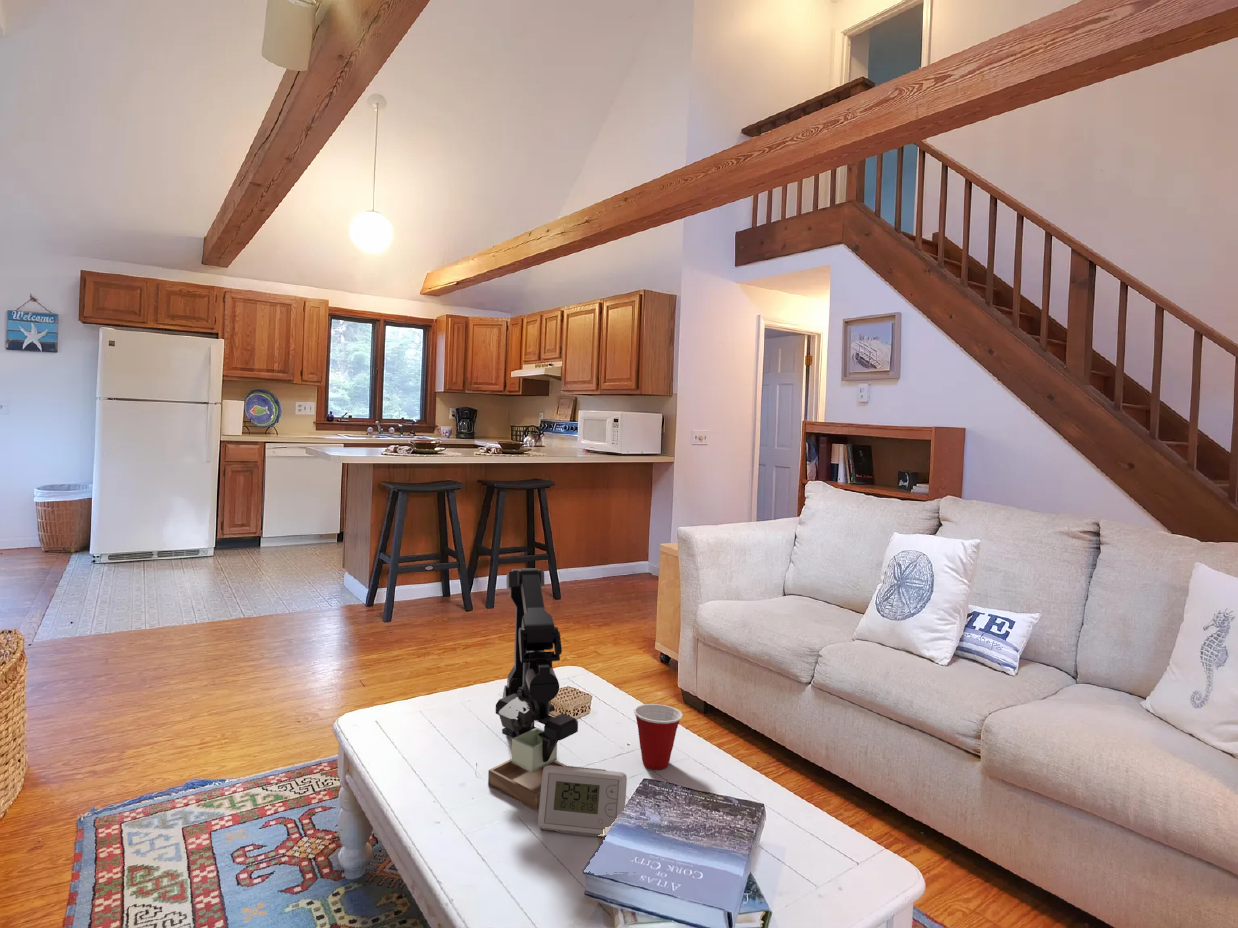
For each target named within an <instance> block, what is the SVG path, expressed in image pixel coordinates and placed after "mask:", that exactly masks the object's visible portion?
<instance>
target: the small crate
mask: <svg viewBox="0 0 1238 928" xmlns="http://www.w3.org/2000/svg"><path fill="white" fill-rule="evenodd" d="M541 732H544V729H541V728H539V727H537V728H535V729H532V730H530V731H528V732H526V733H524V734H521V735H519V736H517V737H512V739H511V759H512V761H511V762H512V763H514V764H516V765H518V766H520V767H522V768H524V769H526V770H528V771H530V772H532V773H533V772H534V771H536V770H538V769H540V768H542V767H544V766H546V765H548V764H550V763H552V762H554V761H558V760H557V758H558V757H557V756H558V755H557V754H558V743H557V744H556V746H555V748H554V750H553V752H552V754H551V756H550V758H549V760H548V761H547V762H543V753H542V738H541V737H540V736H539V735H538V734H539V733H541Z"/></svg>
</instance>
